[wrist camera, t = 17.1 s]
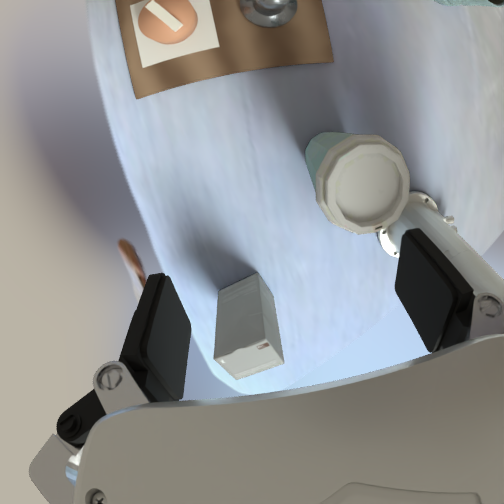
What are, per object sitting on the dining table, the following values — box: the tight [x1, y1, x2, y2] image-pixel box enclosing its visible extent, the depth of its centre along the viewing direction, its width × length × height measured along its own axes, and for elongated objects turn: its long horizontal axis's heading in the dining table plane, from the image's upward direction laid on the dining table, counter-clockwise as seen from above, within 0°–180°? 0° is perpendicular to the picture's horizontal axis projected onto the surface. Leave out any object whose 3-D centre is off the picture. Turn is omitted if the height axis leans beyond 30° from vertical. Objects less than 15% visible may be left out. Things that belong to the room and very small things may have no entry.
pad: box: [130, 0, 219, 68], centre depth 26 cm, size 10×10×1 cm
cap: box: [138, 0, 198, 45], centre depth 24 cm, size 6×6×5 cm
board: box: [115, 0, 334, 99], centre depth 26 cm, size 26×18×1 cm
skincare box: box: [213, 273, 284, 380], centre depth 44 cm, size 8×7×16 cm
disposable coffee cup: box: [305, 132, 410, 235], centre depth 32 cm, size 11×11×15 cm
